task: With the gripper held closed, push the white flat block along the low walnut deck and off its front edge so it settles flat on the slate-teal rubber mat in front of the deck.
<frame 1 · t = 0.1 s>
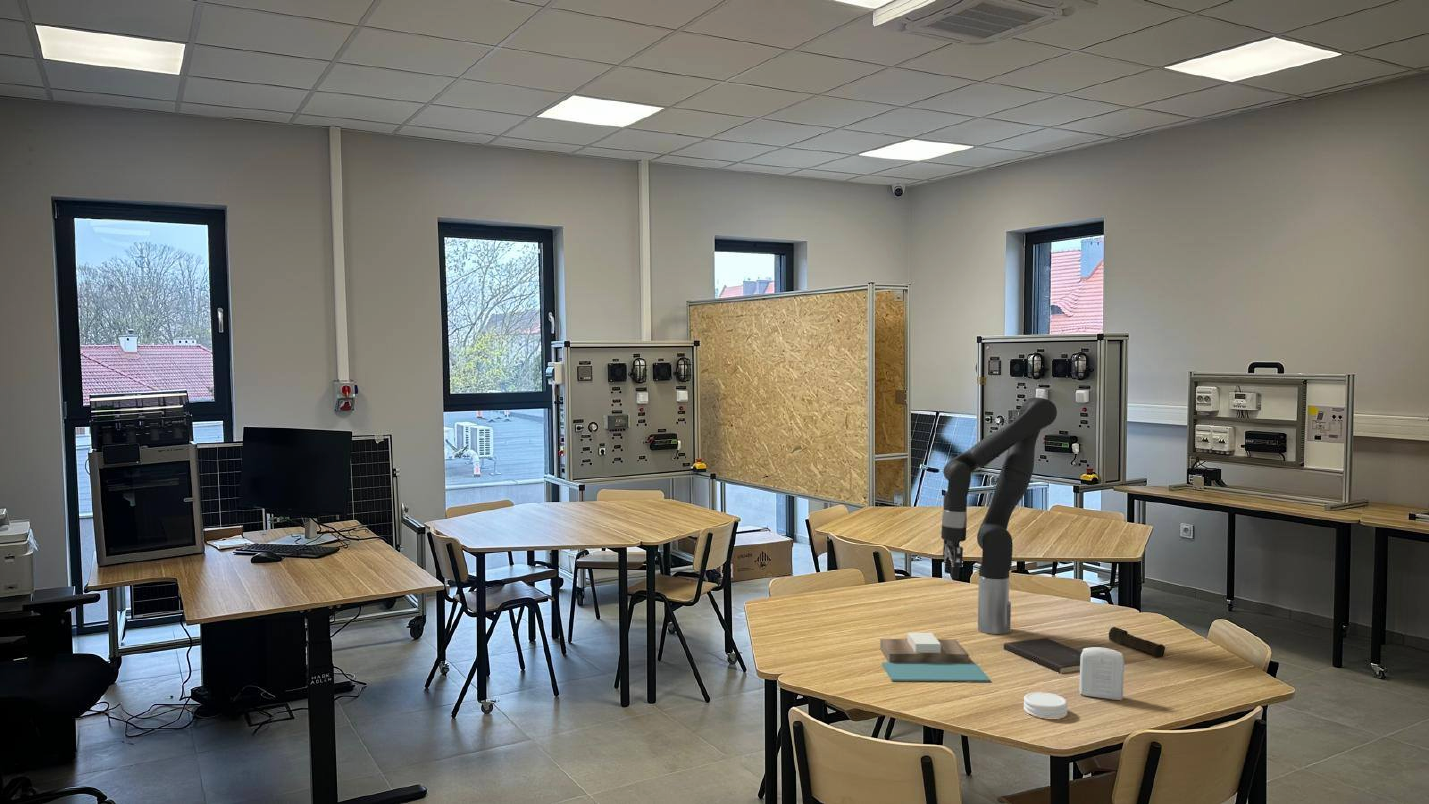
hand: (951, 576, 293), 17 cm above the table, tool pointing down, fingers open, 8 cm apart
hand tool: (1132, 650, 276), on the table
white disc stack: (1045, 713, 225), on the table
deck: (923, 656, 267), on the table
white flat block: (923, 646, 266), point 3 cm above the table, touching deck
white upright block: (1101, 697, 236), on the table
mat: (934, 673, 253), on the table
hardcover book: (1052, 660, 267), on the table
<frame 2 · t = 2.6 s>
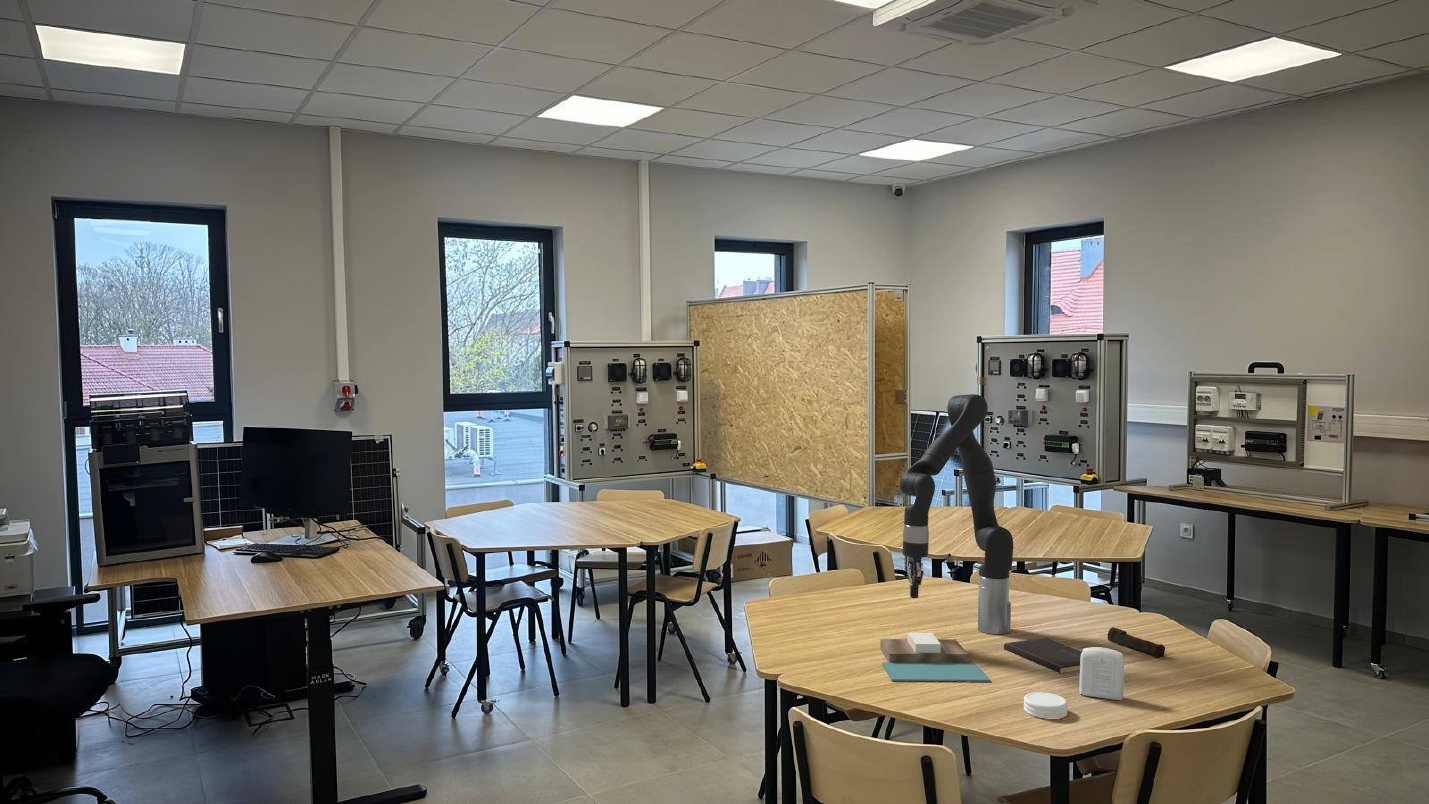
hand: (914, 597, 278), 14 cm above the table, tool pointing down, fingers closed
nothing on the table moved.
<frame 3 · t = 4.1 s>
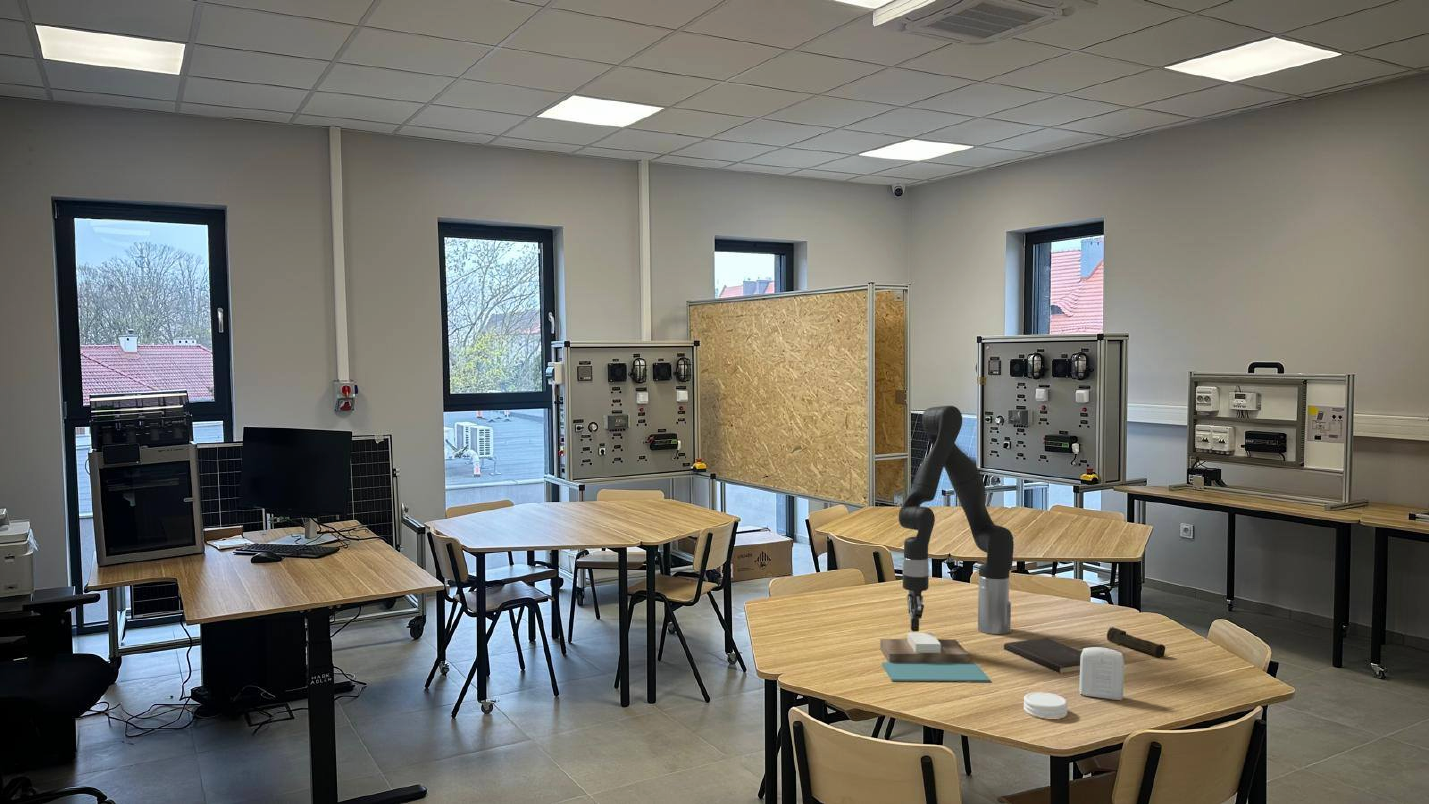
hand: (914, 630, 277), 4 cm above the table, tool pointing down, fingers closed
nothing on the table moved.
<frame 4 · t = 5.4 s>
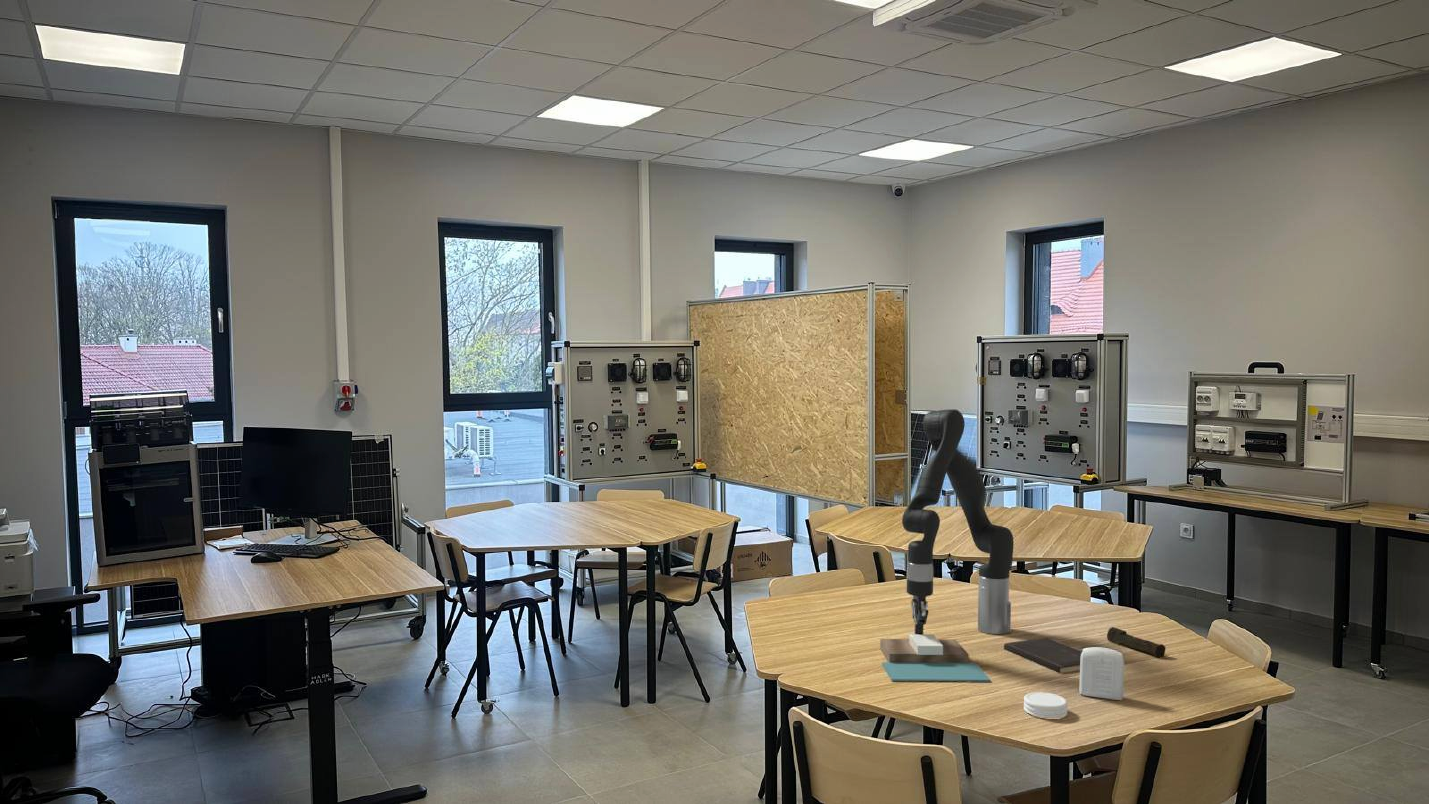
hand: (918, 636, 271), 4 cm above the table, tool pointing down, fingers closed
white flat block: (925, 648, 264), point 3 cm above the table, touching deck, gripper
everything else where it was.
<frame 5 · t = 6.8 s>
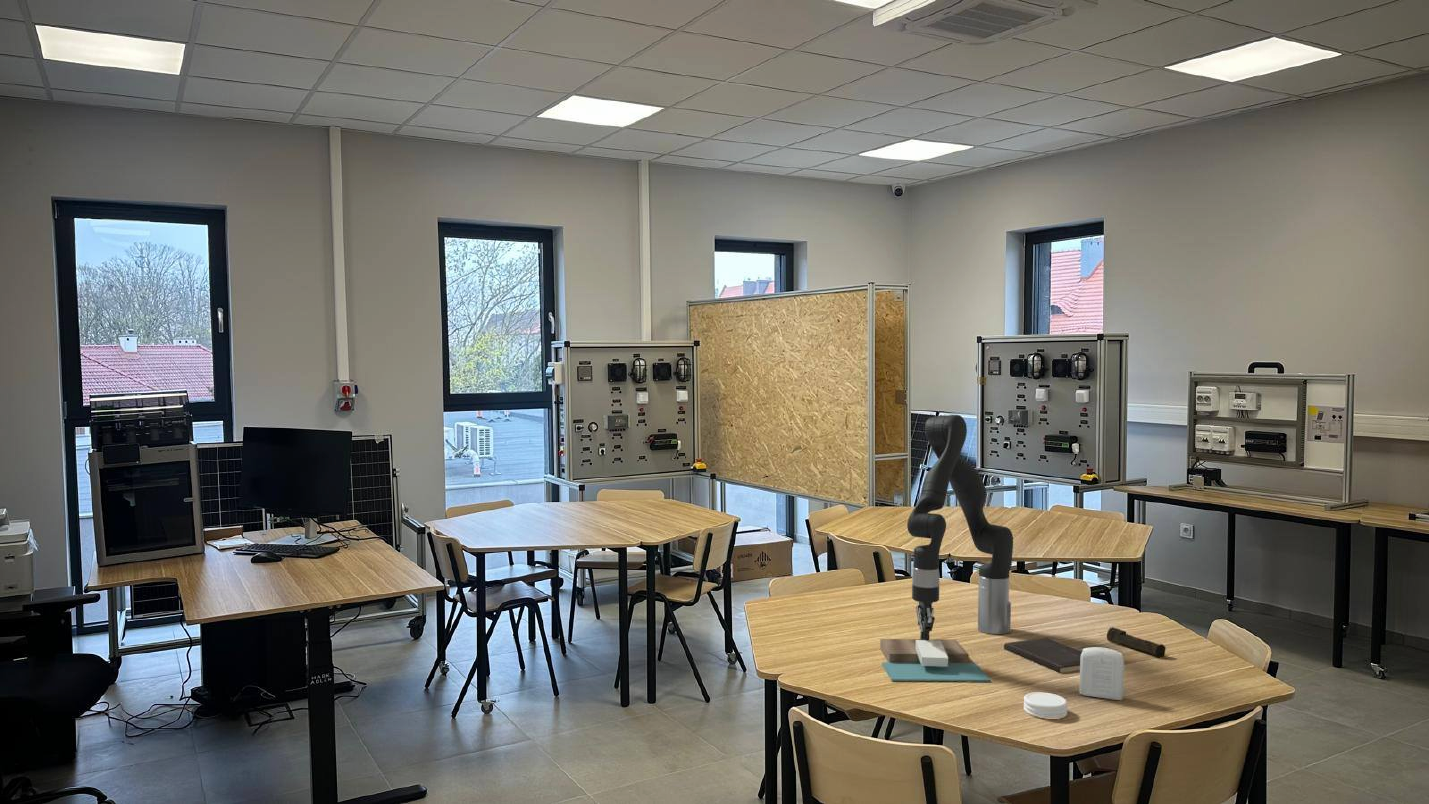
hand: (924, 643, 264), 4 cm above the table, tool pointing down, fingers closed
white flat block: (931, 657, 257), point 3 cm above the table, tilted 8°, touching gripper
everything else where it was.
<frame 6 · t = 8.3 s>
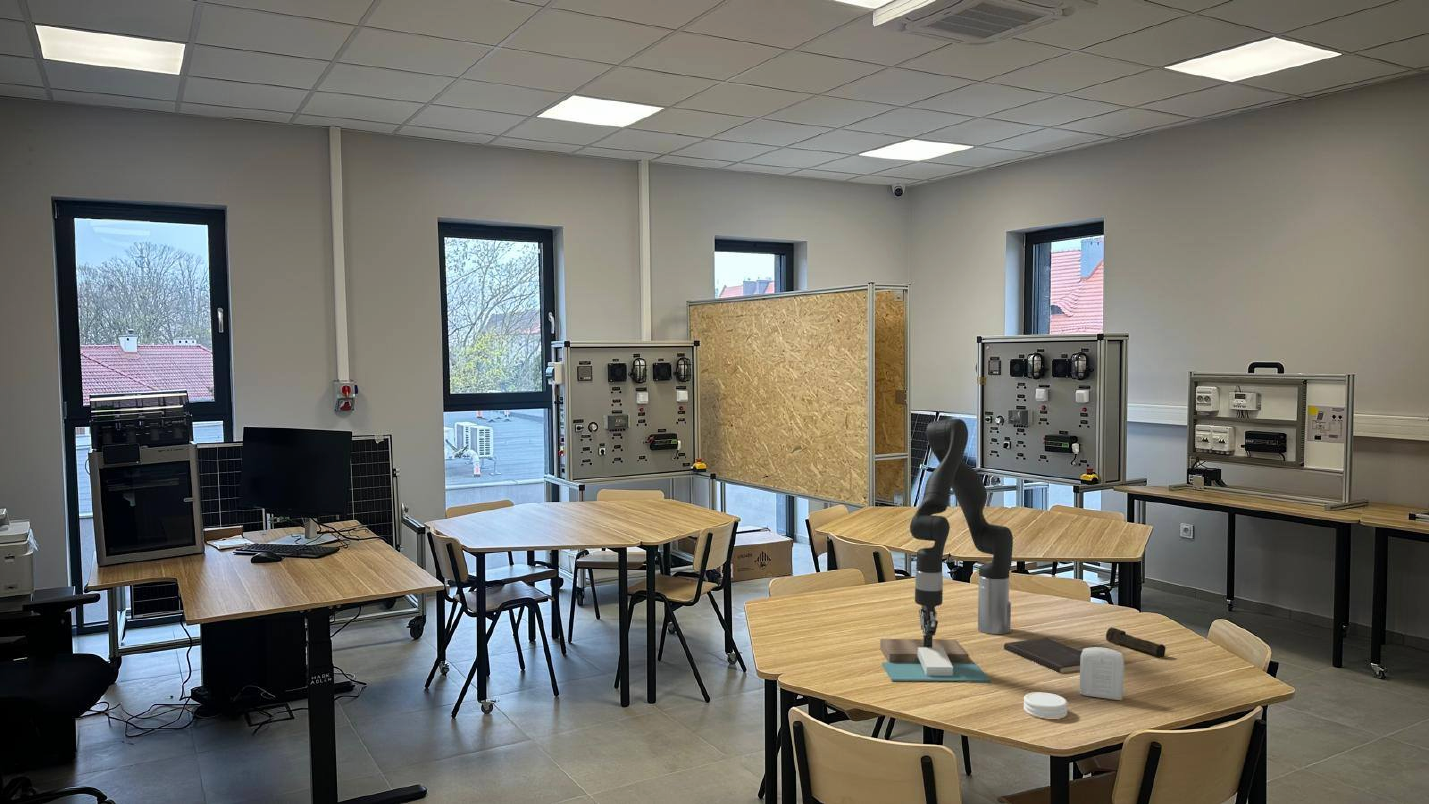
hand: (927, 648, 260), 4 cm above the table, tool pointing down, fingers closed
white flat block: (934, 665, 254), point 2 cm above the table, tilted 10°, touching mat
everything else where it was.
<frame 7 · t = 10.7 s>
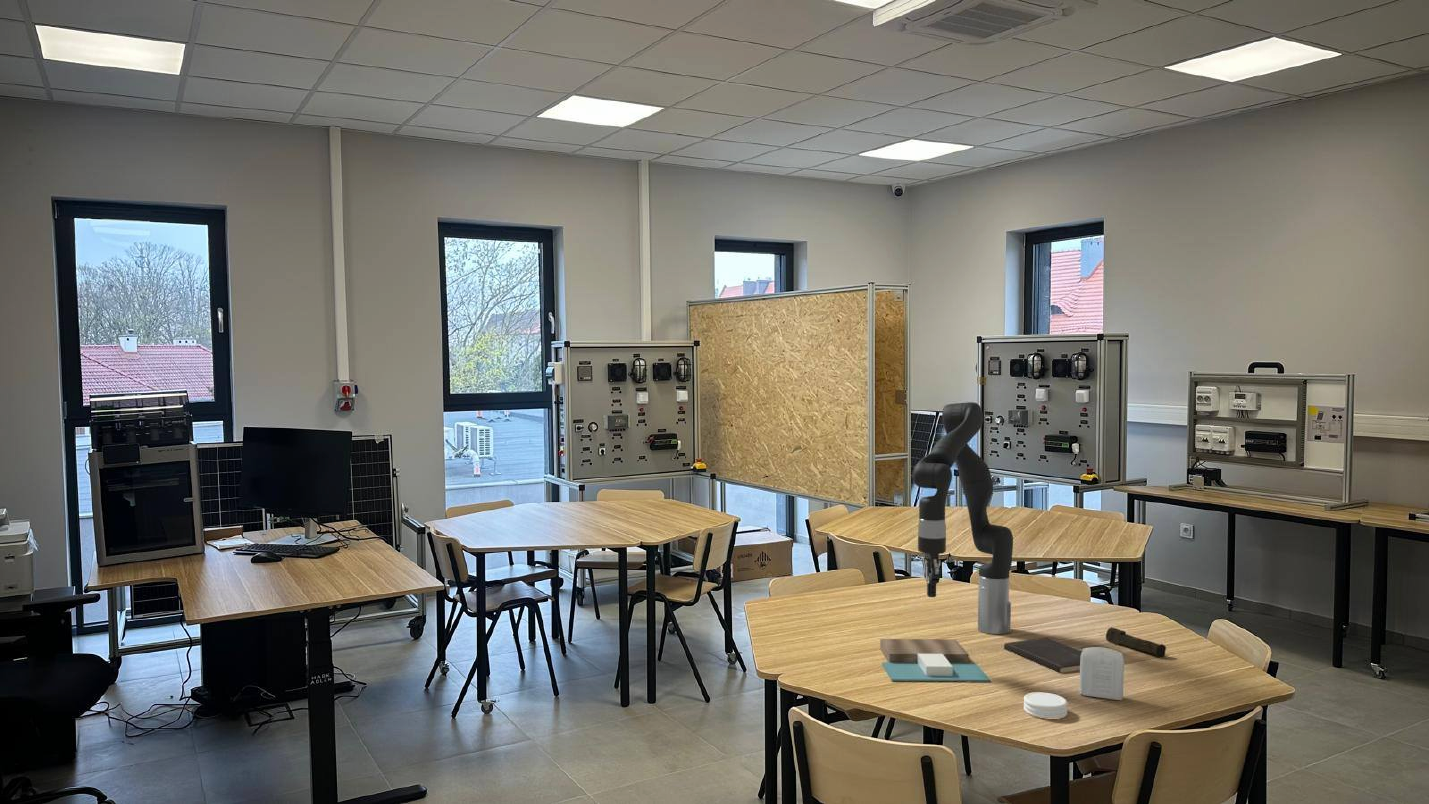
hand: (931, 596, 260), 19 cm above the table, tool pointing down, fingers closed
white flat block: (934, 669, 254), point 1 cm above the table, touching mat
everything else where it was.
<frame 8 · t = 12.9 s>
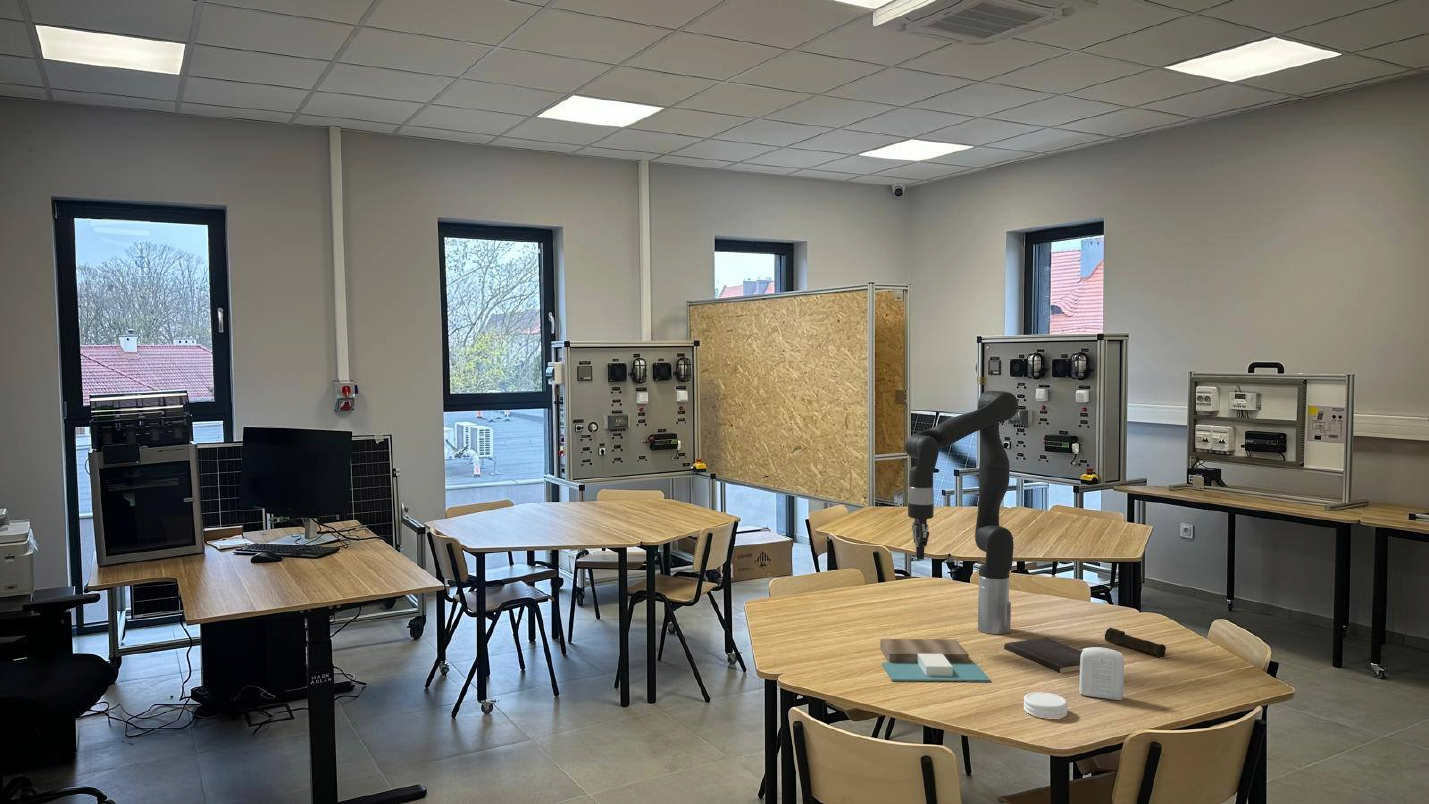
hand: (919, 559, 281), 25 cm above the table, tool pointing down, fingers closed
nothing on the table moved.
at the end: white flat block inside the target area (1.7 cm from its centre), point 0.6 cm above the table; white flat block touching mat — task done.
